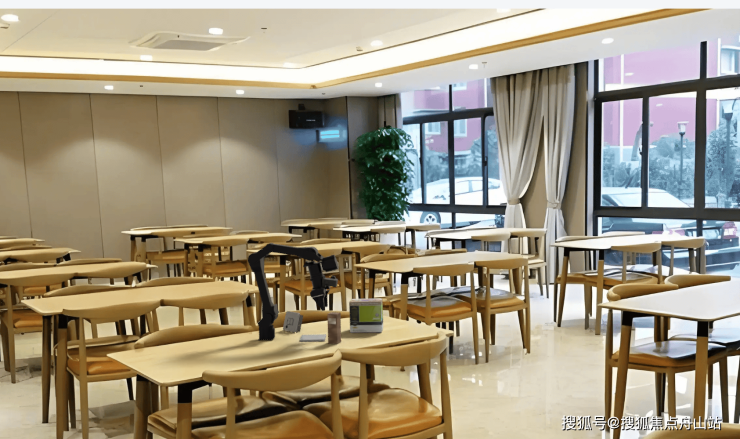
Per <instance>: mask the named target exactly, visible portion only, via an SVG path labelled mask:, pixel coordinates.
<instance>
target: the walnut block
mask: <svg viewBox="0 0 740 439" xmlns="http://www.w3.org/2000/svg"><path fill="white" fill-rule="evenodd" d="M326 317H327V344H328V345H330V344H331V345H339V344H340V343H342V326H341V325H342V324H341V323H342V322H341V321H342V319H341V318H342V317H341V312H336V311H335V312H334V311H333V312H332V311H330V312H329V313H327V316H326Z"/></svg>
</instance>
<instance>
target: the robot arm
mask: <svg viewBox="0 0 740 439" xmlns="http://www.w3.org/2000/svg"><path fill="white" fill-rule="evenodd" d="M272 253H275V254H281V255H288V256H293V257H294V256H296V257H298V258H300V259H303V260H306V261H304V264H303V268H306V267H307V269H308V273H309V276H310V277H309V280H310V282H311V284H312V288H311V289H312V290H311V291H310V292H309V294H310V298H311V299H312V300H313V301H314V302H315V304H317V306H318V307H319V309H320V310H321V311H325V308H327V307H329V306H328V297H329V296H328V294H329V293H330V291H331V287H332V288H337V287H338V281H339V279H338V278H336V275H331V276H330V277H326V275H325V274H324V272H323V271H325V273H328V272H332V271H337V270H339V269H340V268H339V262H338V260H337V258H336V255H335V254H331V255H329V256H323V255H322V254H321V253H319V251H318V249H317V247H315V246H301V247H300V246H293V245H287V244H277V243H274V242H269V243H267V244H266V245H264V246H263V247H262V248H261V249H259V250H258V251H255V252H252V253H250V254H249V255H248V257H247V263H248V266H249V267H250V269H251V270H252V272H253V274H254V278H255V282H256V286H257V288H258V293H259V296H260V300H261V315H262V316H261V317H262V318H261V319H260V320H259V321H257V325H258V340H257V341H273V340H274V339H275V338H276V328H275V327H274V326H275V324H274V322H275V321H276V320H277V319H278V318H279V314H280V311H279V309H278V304H277V303H274V302H273V301H272V298H271V295H270V290H269V286H268V282H267V279H266V275H265V258H266V257H267V256H269V255H270V254H272Z"/></svg>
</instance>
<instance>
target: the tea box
mask: <svg viewBox="0 0 740 439" xmlns="http://www.w3.org/2000/svg"><path fill="white" fill-rule="evenodd" d="M348 303H349V307H348V308H349V332H350V333H382V332H383V329H384V310H383V309H384V307H383V306H384V305H383V298H351V300H350V301H349V302H348Z"/></svg>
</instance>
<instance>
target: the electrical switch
mask: <svg viewBox="0 0 740 439" xmlns="http://www.w3.org/2000/svg"><path fill="white" fill-rule="evenodd" d="M303 318H304V315H302V314H301V313H300V312H294V311H291V310H289V311H288V310H287V311H286V312H285V317H284V322H283V327H282V331H284V330H285V332H289V331H290V333H294V332H296V333H297V332H301V330H302V324H303V320H304V319H303Z"/></svg>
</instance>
